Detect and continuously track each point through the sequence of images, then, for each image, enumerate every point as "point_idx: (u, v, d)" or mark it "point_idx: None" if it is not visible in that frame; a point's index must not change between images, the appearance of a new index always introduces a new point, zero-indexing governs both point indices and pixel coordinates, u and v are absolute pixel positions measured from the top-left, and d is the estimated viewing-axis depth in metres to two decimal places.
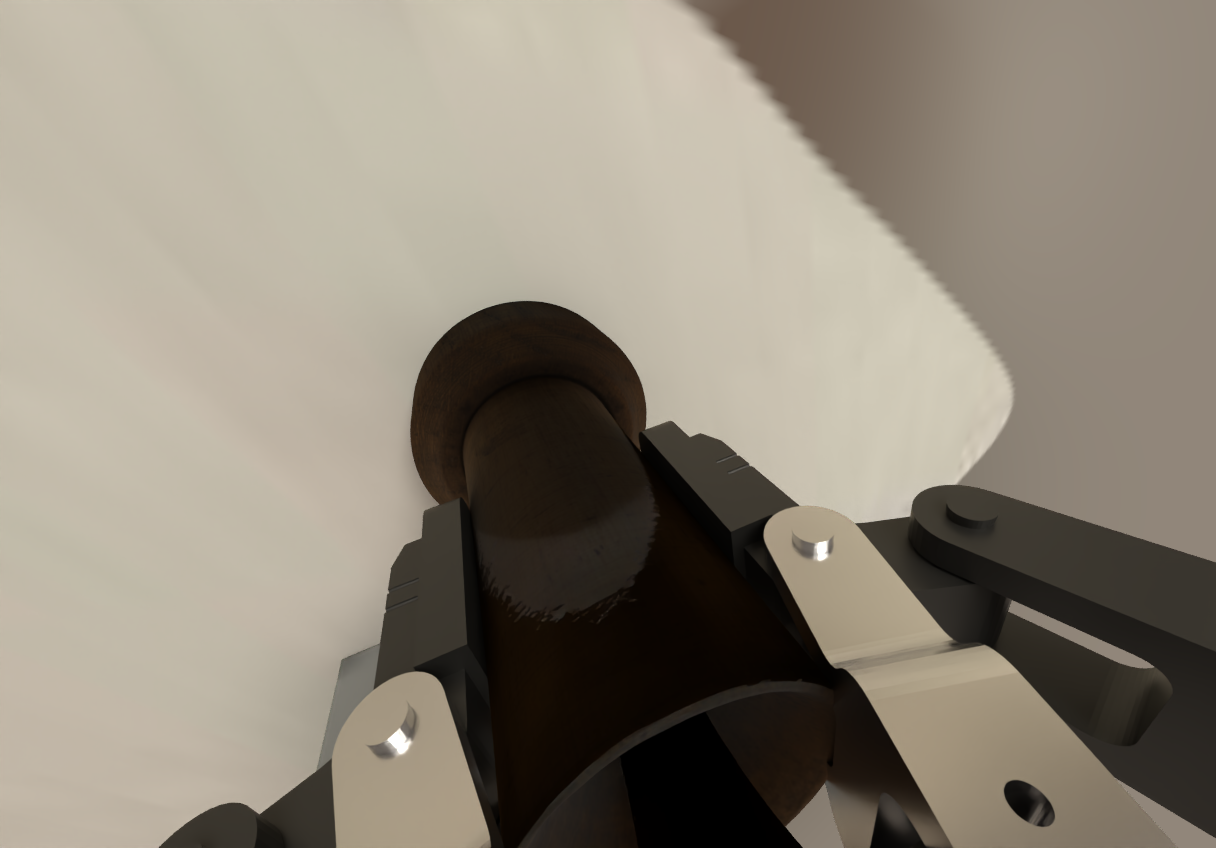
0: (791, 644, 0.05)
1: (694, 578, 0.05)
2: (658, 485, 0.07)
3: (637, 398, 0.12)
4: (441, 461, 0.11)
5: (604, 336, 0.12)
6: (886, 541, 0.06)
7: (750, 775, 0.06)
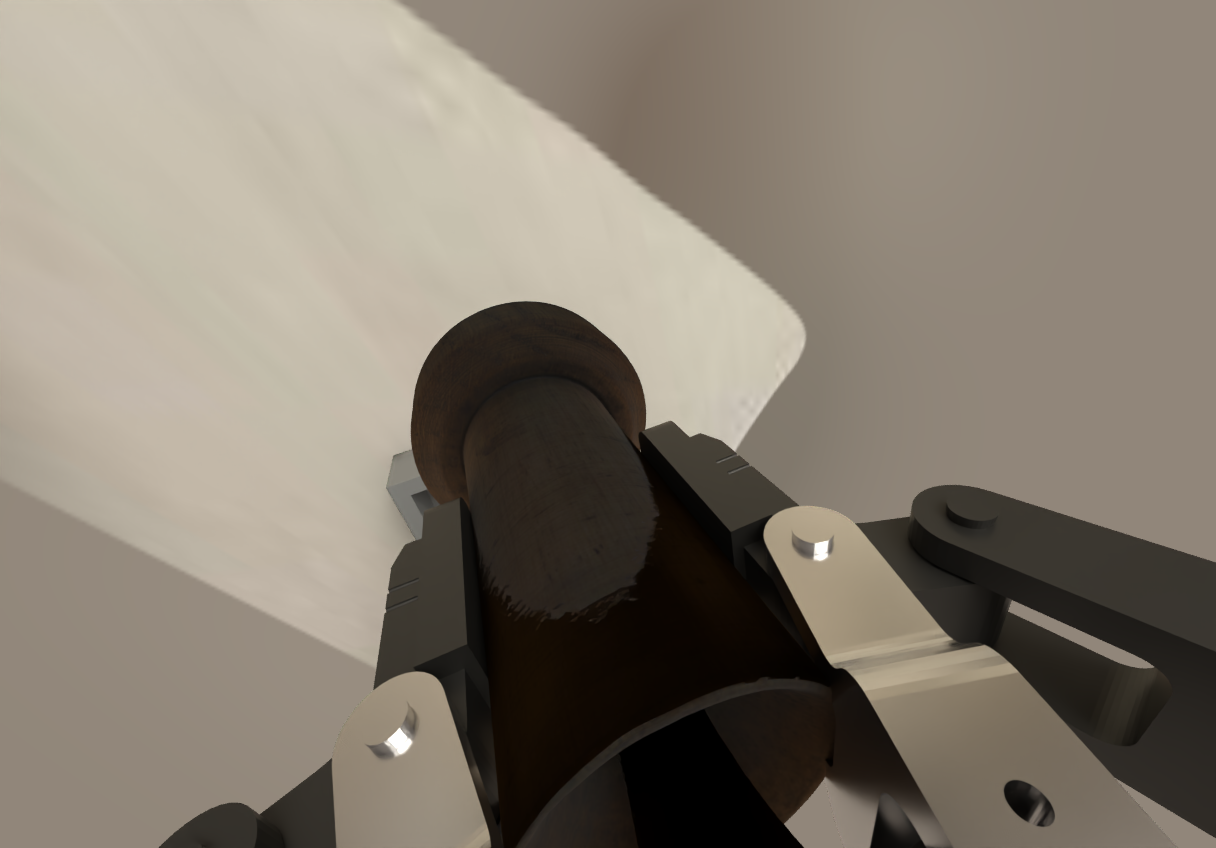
0: (789, 642, 0.05)
1: (693, 577, 0.05)
2: (657, 485, 0.07)
3: (637, 398, 0.12)
4: (441, 461, 0.11)
5: (604, 336, 0.12)
6: (886, 541, 0.06)
7: (749, 773, 0.06)
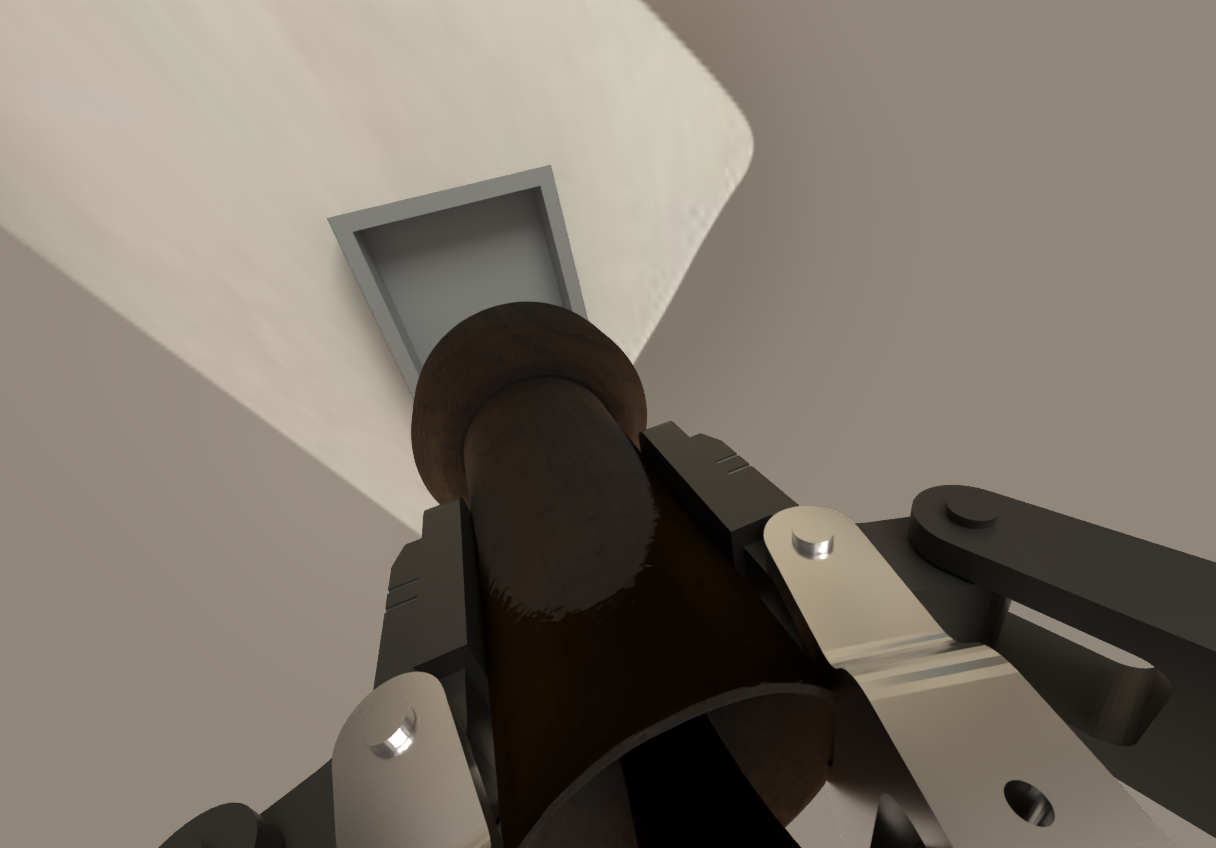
0: (791, 645, 0.05)
1: (695, 579, 0.05)
2: (658, 486, 0.07)
3: (638, 398, 0.12)
4: (442, 461, 0.11)
5: (605, 337, 0.12)
6: (886, 541, 0.06)
7: (750, 776, 0.06)
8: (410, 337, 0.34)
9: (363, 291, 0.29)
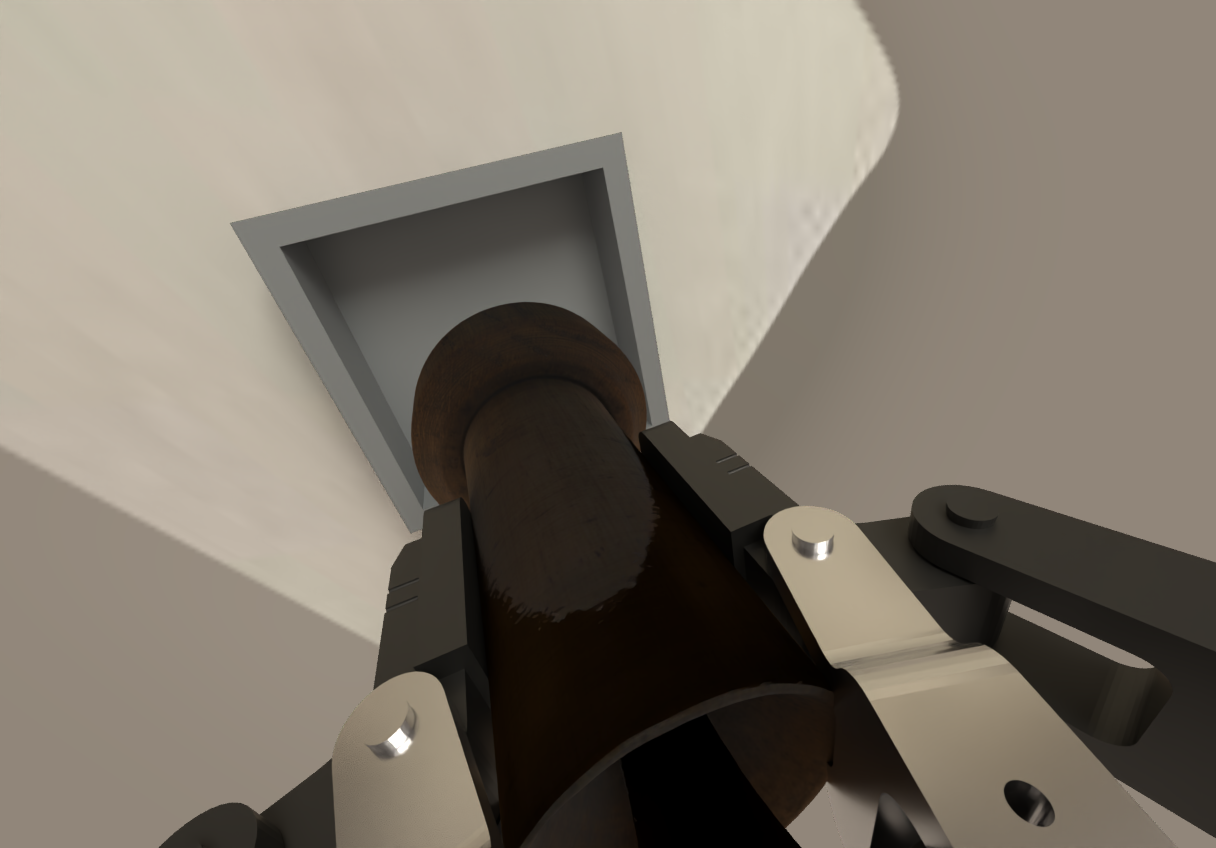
0: (791, 646, 0.05)
1: (695, 579, 0.05)
2: (658, 487, 0.07)
3: (637, 399, 0.12)
4: (441, 462, 0.11)
5: (604, 337, 0.12)
6: (886, 541, 0.06)
7: (750, 777, 0.06)
8: (390, 404, 0.22)
9: (304, 346, 0.17)
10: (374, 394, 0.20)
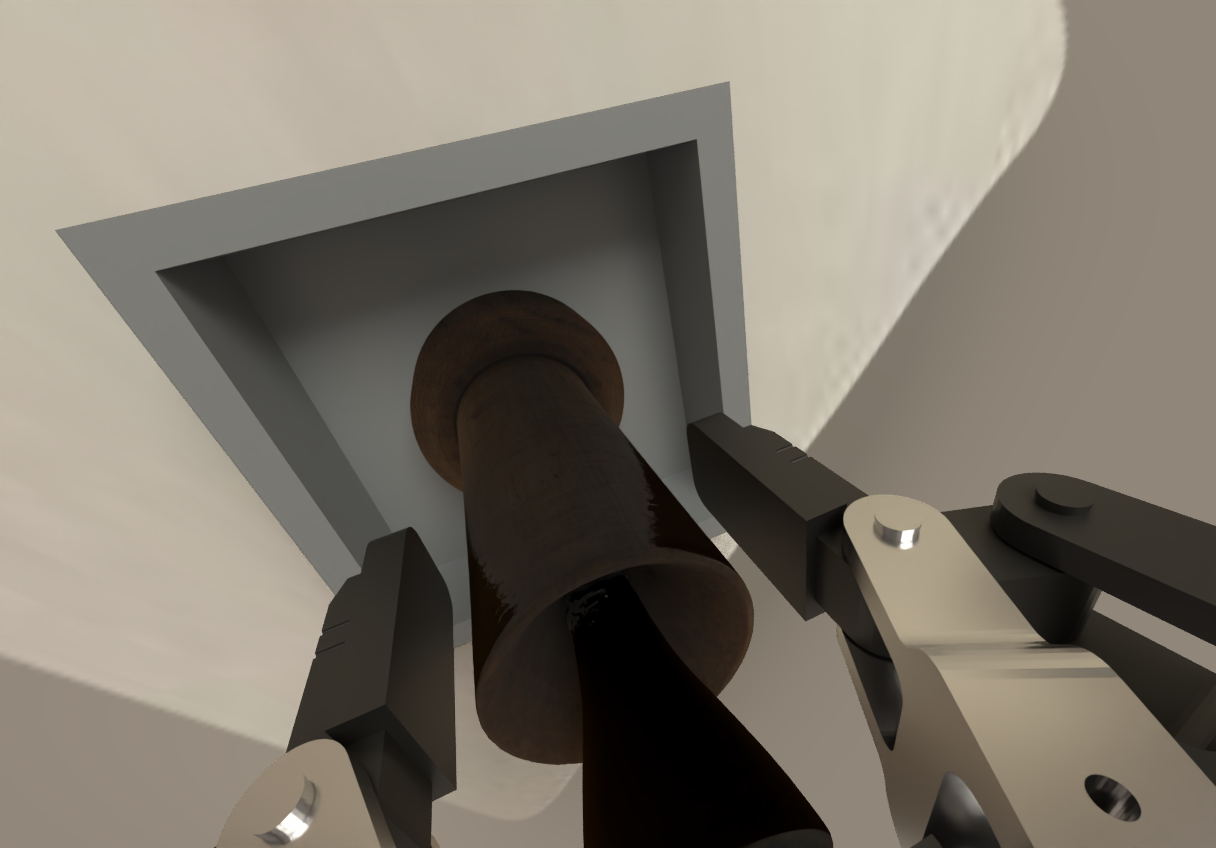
0: (703, 539, 0.06)
1: (631, 492, 0.06)
2: (617, 436, 0.09)
3: (615, 377, 0.14)
4: (437, 430, 0.12)
5: (583, 320, 0.13)
6: (967, 530, 0.06)
7: (683, 661, 0.07)
8: (366, 486, 0.15)
9: (214, 431, 0.10)
10: (339, 481, 0.13)
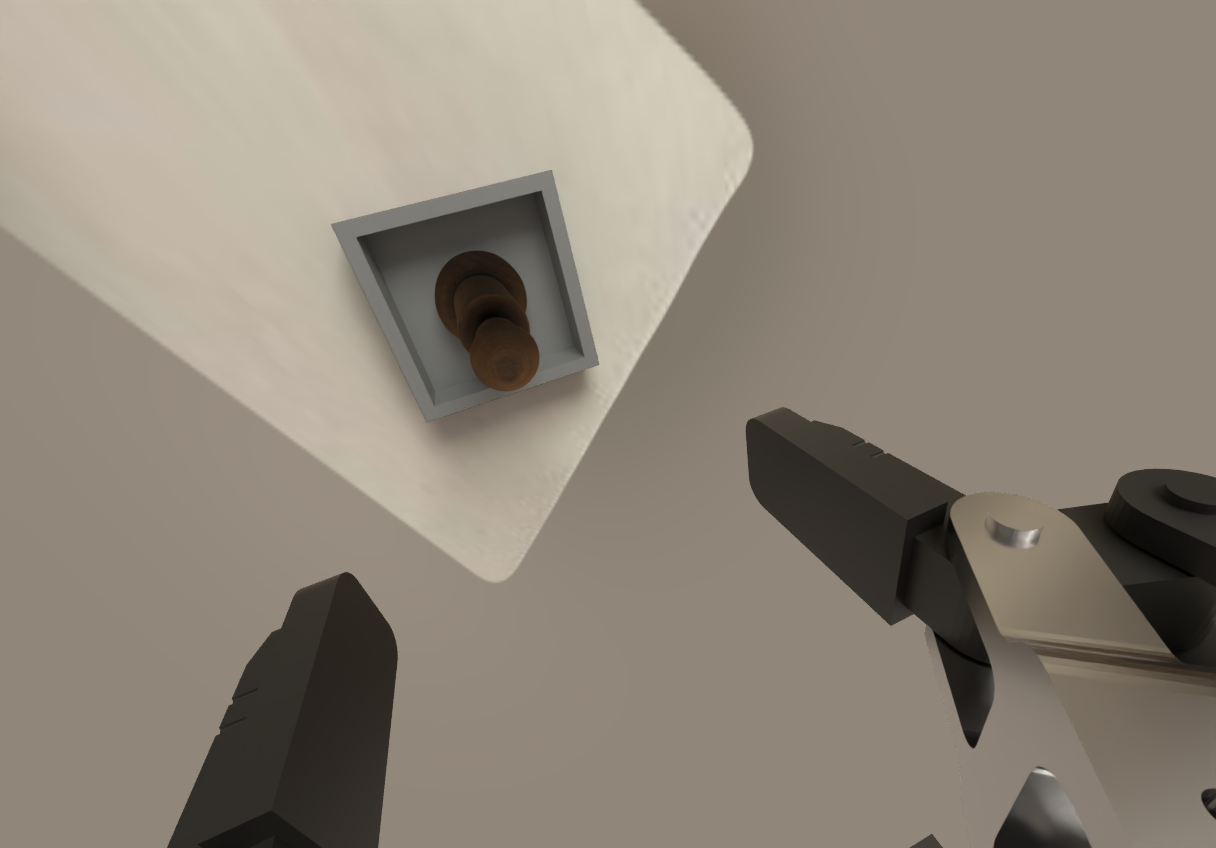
0: (513, 299, 0.25)
1: (497, 290, 0.25)
2: (503, 289, 0.27)
3: (520, 287, 0.32)
4: (445, 304, 0.31)
5: (505, 261, 0.32)
6: (1082, 530, 0.06)
7: None
8: (413, 340, 0.34)
9: (367, 295, 0.29)
10: (404, 330, 0.32)
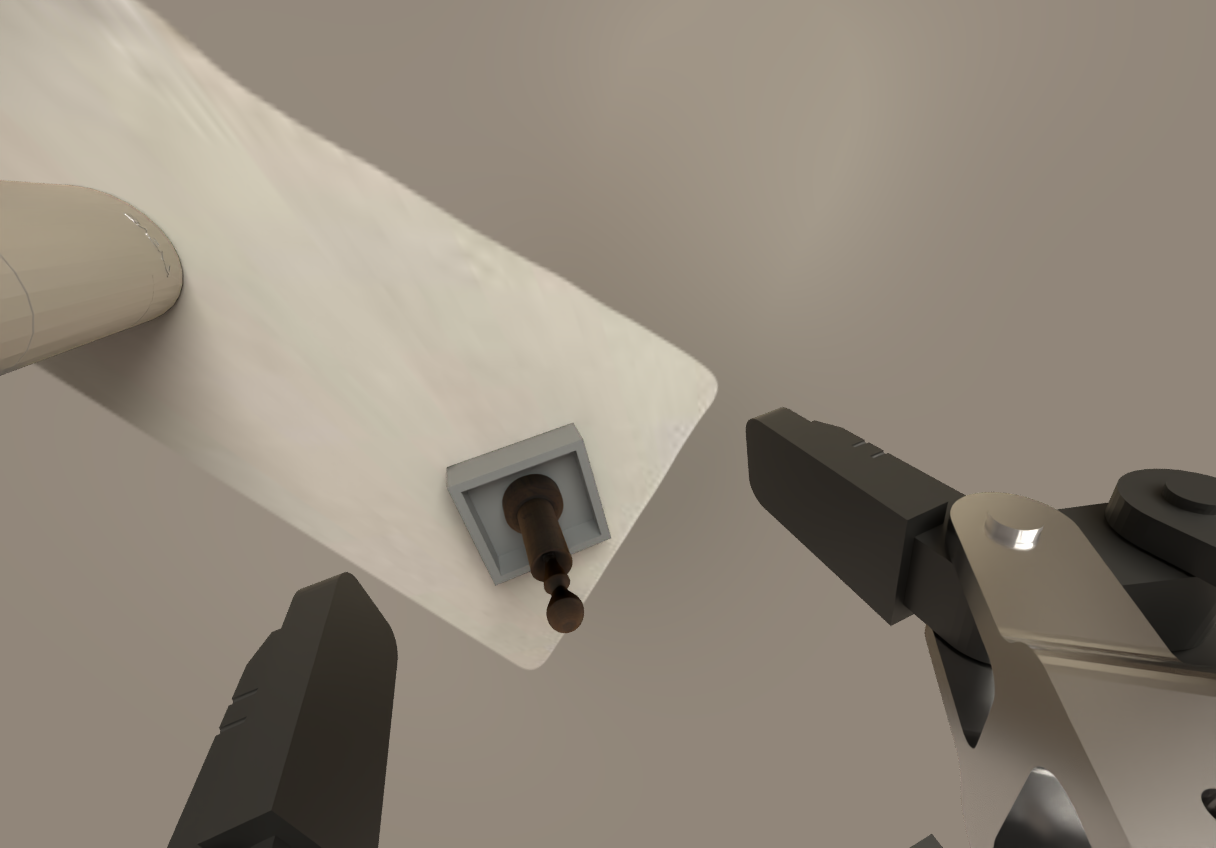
0: (563, 547, 0.41)
1: (553, 539, 0.41)
2: (554, 526, 0.43)
3: (559, 499, 0.49)
4: (512, 517, 0.47)
5: (550, 486, 0.48)
6: (1081, 530, 0.06)
7: (562, 567, 0.42)
8: (486, 529, 0.50)
9: (464, 521, 0.45)
10: (482, 529, 0.48)
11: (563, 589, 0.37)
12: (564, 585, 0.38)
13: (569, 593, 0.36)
